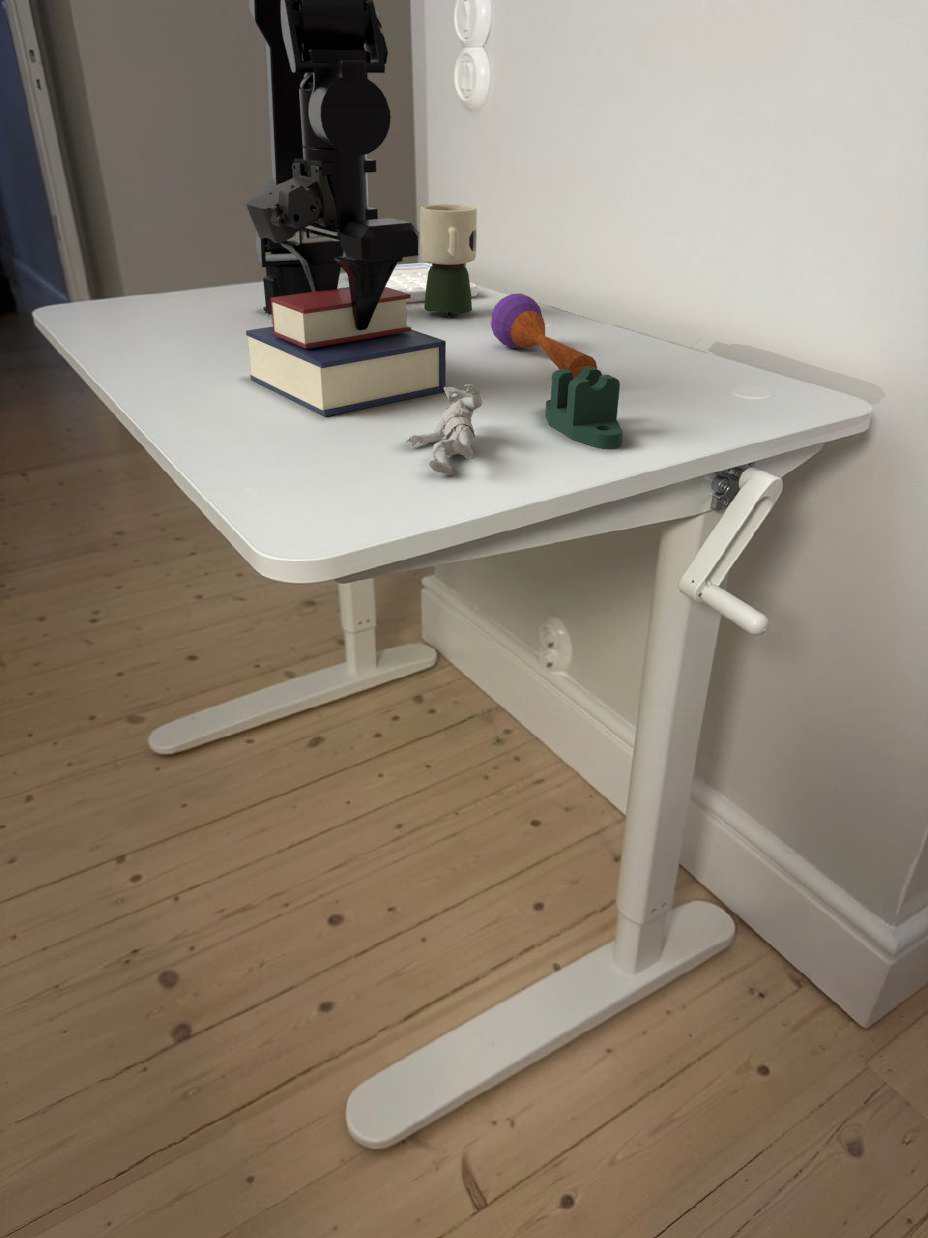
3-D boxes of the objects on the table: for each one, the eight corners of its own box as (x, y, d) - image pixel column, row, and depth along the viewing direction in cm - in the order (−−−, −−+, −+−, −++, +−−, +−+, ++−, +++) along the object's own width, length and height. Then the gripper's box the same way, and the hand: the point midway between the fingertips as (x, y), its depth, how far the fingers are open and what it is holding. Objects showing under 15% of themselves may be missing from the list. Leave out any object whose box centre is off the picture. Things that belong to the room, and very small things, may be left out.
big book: (364, 358, 106) (363, 312, 103) (445, 390, 96) (446, 340, 93) (250, 379, 98) (245, 330, 96) (325, 416, 88) (321, 362, 86)
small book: (376, 319, 100) (375, 283, 98) (411, 331, 95) (410, 294, 94) (273, 335, 93) (270, 297, 92) (306, 349, 89) (303, 309, 87)
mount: (531, 414, 90) (534, 360, 87) (573, 408, 91) (576, 356, 89) (591, 451, 81) (596, 393, 79) (636, 444, 83) (642, 387, 80)
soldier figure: (402, 487, 76) (396, 398, 84) (444, 517, 79) (435, 428, 87) (472, 428, 73) (459, 341, 81) (514, 462, 75) (498, 374, 83)
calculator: (391, 304, 130) (390, 290, 129) (347, 278, 146) (347, 265, 145) (480, 297, 135) (480, 283, 134) (428, 272, 151) (428, 259, 150)
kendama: (553, 350, 94) (480, 294, 110) (558, 406, 98) (486, 344, 113) (607, 335, 95) (527, 281, 111) (610, 390, 99) (532, 331, 114)
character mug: (481, 322, 122) (483, 212, 115) (425, 324, 121) (425, 213, 114) (468, 304, 131) (470, 201, 124) (417, 305, 130) (415, 202, 123)
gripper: (207, 143, 88) (226, 315, 96) (308, 158, 76) (320, 355, 83) (312, 139, 94) (322, 302, 102) (422, 153, 82) (424, 337, 89)
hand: (343, 322), depth 94 cm, fingers closed on small book, 6 cm apart
